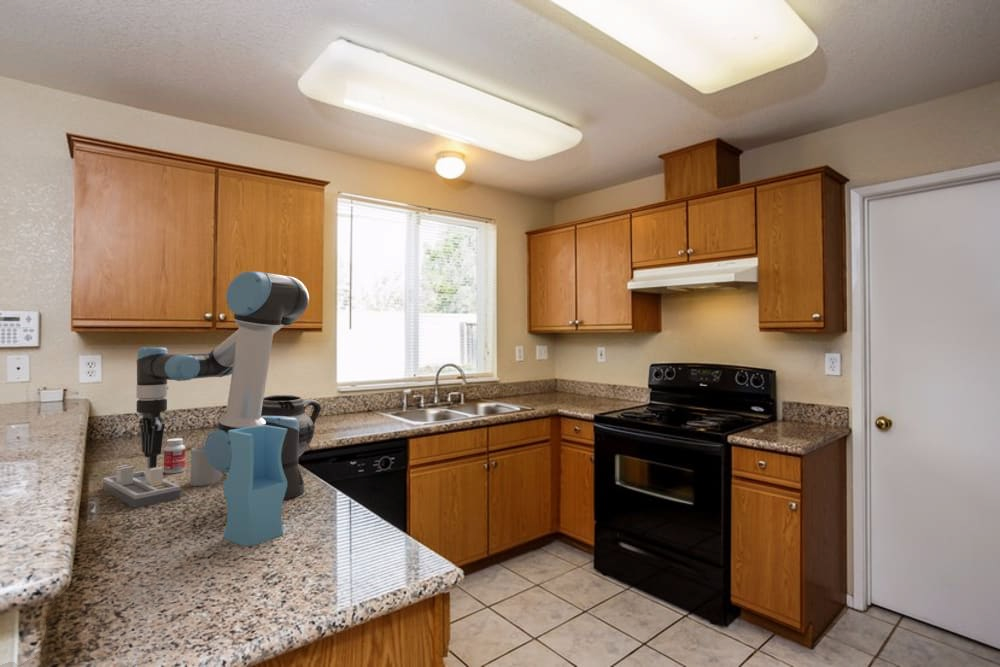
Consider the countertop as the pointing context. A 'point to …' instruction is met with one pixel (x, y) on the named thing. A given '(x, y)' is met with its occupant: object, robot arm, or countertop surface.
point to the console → (141, 490)
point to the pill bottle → (174, 456)
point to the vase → (255, 485)
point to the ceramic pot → (294, 414)
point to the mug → (202, 469)
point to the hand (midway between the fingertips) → (151, 477)
